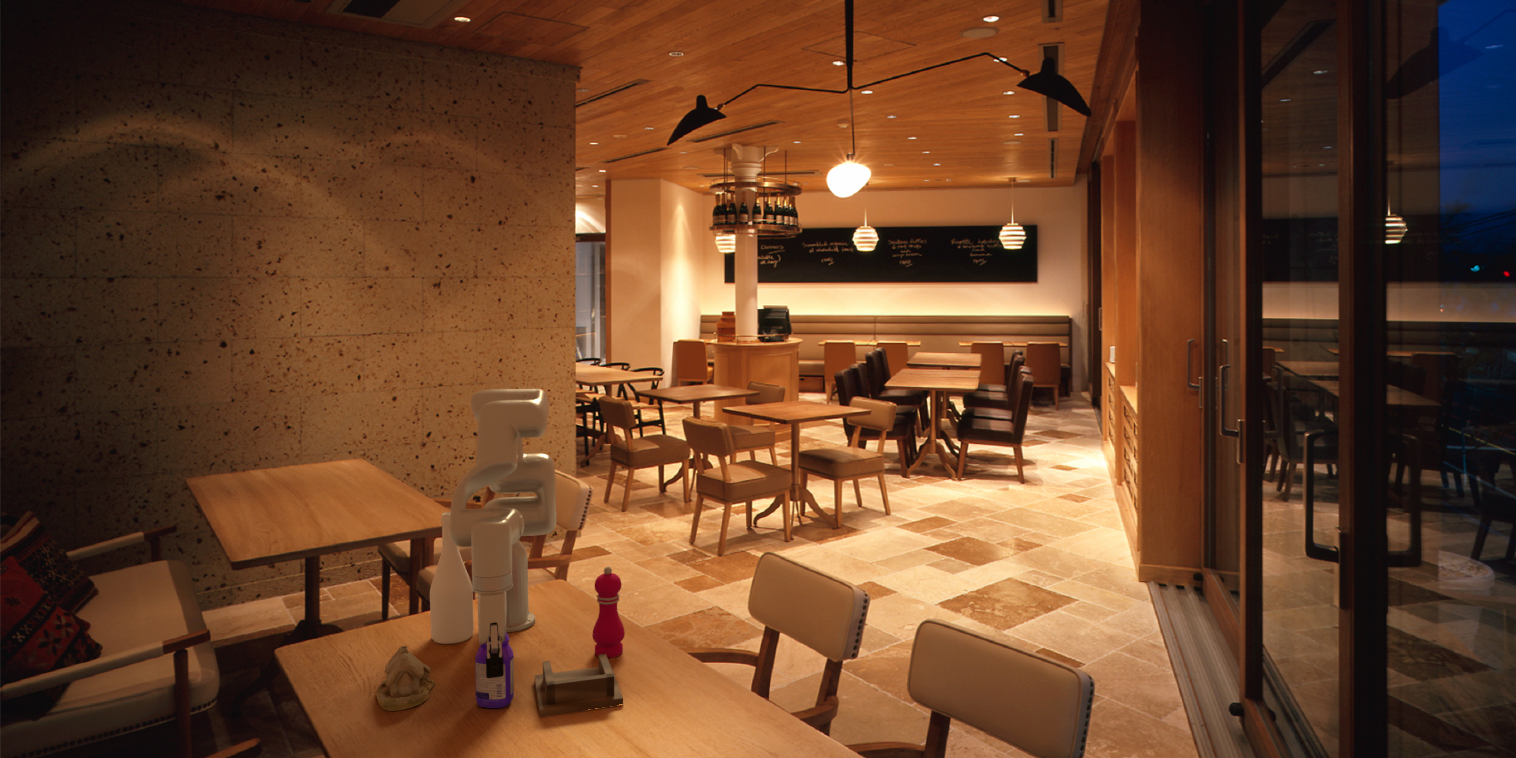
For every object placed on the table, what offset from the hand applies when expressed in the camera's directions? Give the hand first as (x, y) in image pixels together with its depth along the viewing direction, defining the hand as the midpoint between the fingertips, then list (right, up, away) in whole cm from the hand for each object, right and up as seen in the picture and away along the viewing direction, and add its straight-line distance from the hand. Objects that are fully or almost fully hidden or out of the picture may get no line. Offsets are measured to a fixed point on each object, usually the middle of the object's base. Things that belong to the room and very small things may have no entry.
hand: (494, 668), depth 169 cm
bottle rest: (+15, -7, +5) cm, 18 cm away
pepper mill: (+18, -5, +25) cm, 32 cm away
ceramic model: (-19, -7, +4) cm, 21 cm away
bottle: (0, -7, +1) cm, 7 cm away
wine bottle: (-20, -4, +34) cm, 40 cm away
